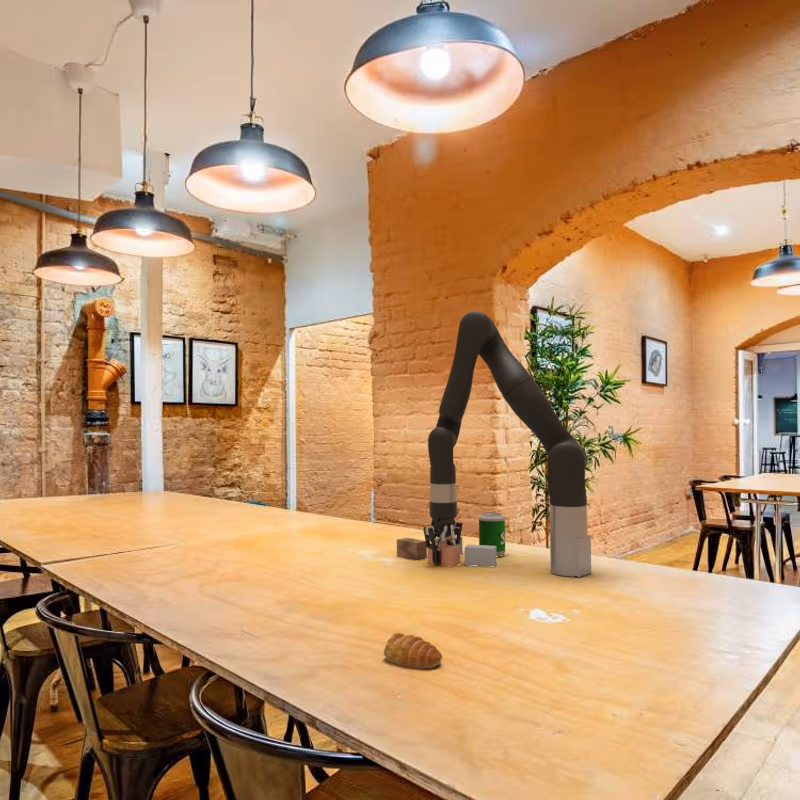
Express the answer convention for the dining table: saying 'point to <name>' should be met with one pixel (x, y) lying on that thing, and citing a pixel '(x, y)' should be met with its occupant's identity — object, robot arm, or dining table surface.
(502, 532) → the soda can
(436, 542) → the slate brick
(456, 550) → the terracotta brick
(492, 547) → the blue-grey brick
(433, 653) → the pastry
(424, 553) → the walnut brick
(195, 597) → the dining table surface
